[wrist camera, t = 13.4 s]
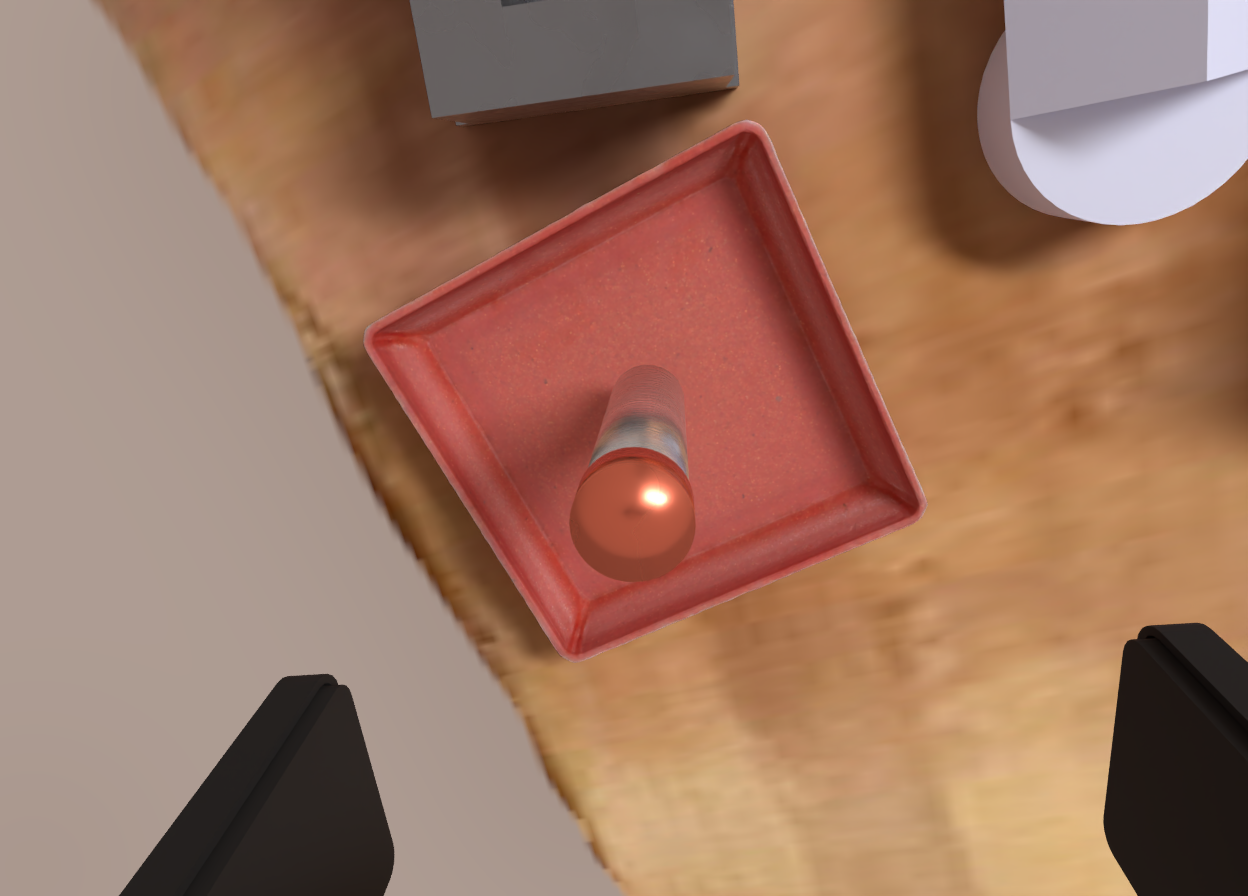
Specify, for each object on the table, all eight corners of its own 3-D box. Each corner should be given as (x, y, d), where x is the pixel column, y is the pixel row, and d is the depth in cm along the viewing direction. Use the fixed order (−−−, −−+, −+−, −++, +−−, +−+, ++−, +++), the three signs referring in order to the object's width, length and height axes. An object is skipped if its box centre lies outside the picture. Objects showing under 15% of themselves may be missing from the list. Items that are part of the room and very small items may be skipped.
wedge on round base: (960, -128, 29) (985, 239, 33) (1039, -208, 22) (1058, 259, 27) (1231, -200, 28) (1221, 190, 32) (1395, -305, 21) (1356, 199, 25)
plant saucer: (915, 488, 37) (937, 518, 34) (574, 632, 41) (566, 672, 38) (750, 113, 32) (757, 108, 29) (380, 317, 36) (352, 332, 33)
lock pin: (603, 367, 33) (560, 472, 20) (681, 357, 32) (688, 457, 20) (614, 442, 34) (579, 587, 21) (690, 433, 33) (701, 575, 21)
